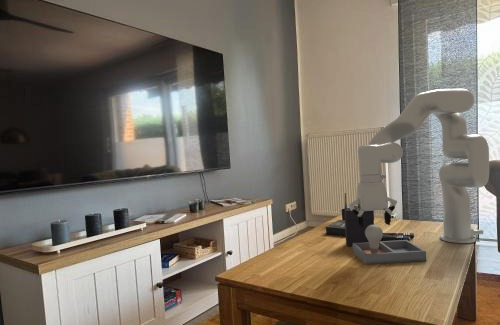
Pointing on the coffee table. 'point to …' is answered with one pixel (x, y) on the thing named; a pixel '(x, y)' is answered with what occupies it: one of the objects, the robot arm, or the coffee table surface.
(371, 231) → the lightbulb
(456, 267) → the coffee table surface
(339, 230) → the wireless controller
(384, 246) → the sorting tray
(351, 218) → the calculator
